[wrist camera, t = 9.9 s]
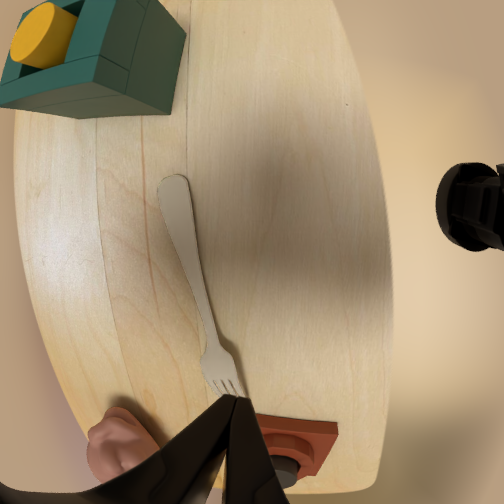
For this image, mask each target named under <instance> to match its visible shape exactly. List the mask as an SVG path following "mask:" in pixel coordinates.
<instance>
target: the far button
mask: <svg viewBox="0 0 504 504" xmlns="http://www.w3.org/2000/svg"><path fill="white" fill-rule="evenodd" d="M270 457H271V460H272V462H273V465H274V468H275V471H276V473H277V474H276V475H277V476H278V478H279V481H280V484H281V486H282V488H283V489H285V488H288V487H291V486H293V485H294V484H295V483H296V482H297V469H298V463H297V461H296V460H295V459H293V458H291V457H289V456H284V455H275V454H274V455H270Z"/></svg>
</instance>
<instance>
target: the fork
mask: <svg viewBox="0 0 504 504" xmlns="http://www.w3.org/2000/svg"><path fill="white" fill-rule="evenodd" d="M157 193H158V199H159V205H160V210H161V213H162V216H163V218H164V221H165V224H166V227H167V230H168V232H169V235H170V237H171V240H172V242H173V245H174V247H175V249H176V252H177V254H178V257H179V259H180V261H181V264H182V266H183V269H184V272H185V274H186V277H187V279H188V282H189V284H190V287H191V290H192V292H193V295H194V298H195V301H196V304H197V306H198V309H199V312H200V315H201V318H202V321H203V324H204V328H205V332H206V336H207V343H208V346H207V348H206V351H205V353H204V354H203V355H202V356H201V359H200V365H201V370H202V374H203V376H204V379H205V380H206V382H207V383H208V385H209V386H210V387H211V389H212V390H213V391H214V393H215V394H216V395H217V396H218V397H219V398H220V397H221V396H222V393H221V392H220V391H219V389H218V387H219V388H220V390H221V391H222V392H223V393H224V394H229V393H228V392H227V390H226V389H225V387H224V385H223V383H222V381H223V382H224V384H225V386H226V387H227V389H228V391H229V392H230V393H231V395H236V393H235V391H234V390H233V388H232V386H231V383H232V385H233V387H234V388H235V390H236V391H237V393H238V394H239V395H240V396H242V397H246V396H245V395H244V393H243V391H242V388H241V386H240V383H239V381H238V376H237V372H236V368H235V364H234V360H233V358H232V356H231V355H230V354H229V353H228V352H227V351H225V350H224V349H223V347H222V346H221V345H220V343H219V339H218V335H217V331H216V328H215V324H214V320H213V316H212V312H211V309H210V305H209V301H208V297H207V293H206V290H205V286H204V281H203V276H202V271H201V266H200V261H199V255H198V248H197V241H196V234H195V226H194V219H193V212H192V204H191V198H190V192H189V187H188V182H187V180H186V179H185V178H184V176H181V175H178V174H175V175H172V176H169V177H166V178H164V179H163V180H162V181H161V182H160V183H159V186H158V189H157ZM221 380H222V381H221ZM229 380H230V381H231V383H230V381H229ZM214 381H215V382H216V384H217V385H218V387H217V386H216V384H215V382H214ZM236 396H237V395H236ZM237 397H238V396H237Z"/></svg>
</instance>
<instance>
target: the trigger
mask: <svg viewBox="0 0 504 504" xmlns="http://www.w3.org/2000/svg"><path fill="white" fill-rule="evenodd" d="M77 20H78V17H76V16H74V15H73V14H71V13H69V12H67V11H66V10H64V9H62V8H60V7H58V6H57V5H55V4H53V3H50V2H47V3H43V4H41V5H39V6H38V7H36V8H35V9H34V10H32V11H31V12H30V13H29V14H28V15H27V17H26V18H25V19H24V20H23V22H22V23H21V24H20V26H19V28H18V29H17V31H16V33H15V35H14V38H13V40H12V43H11V48H10V55H11V58H12V60H13V61H15V62H19V63H22V64H26V65H30V66H33V67H37V68H40V69H43V70H45V69H48V68H51V67H54V66H58V65H61V64H65V63H64V61H65V57H66V54H67V51H68V47H69V44H70V41H71V38H72V35H73V32H74V29H75V26H76V23H77Z"/></svg>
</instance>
